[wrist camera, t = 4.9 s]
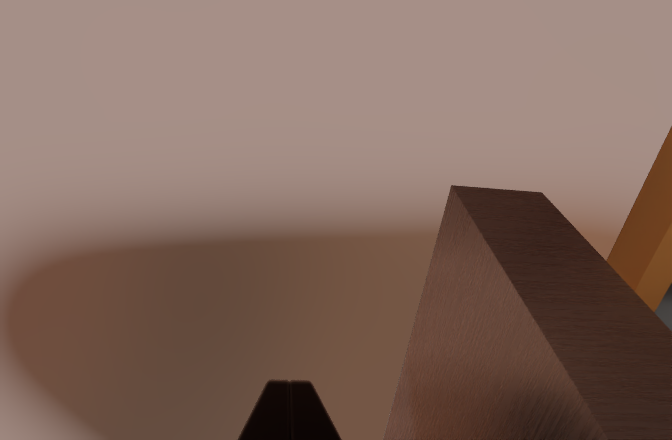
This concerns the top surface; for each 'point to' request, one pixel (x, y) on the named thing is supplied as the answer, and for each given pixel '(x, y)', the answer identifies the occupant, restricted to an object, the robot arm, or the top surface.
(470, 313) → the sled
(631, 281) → the wooden picture frame
